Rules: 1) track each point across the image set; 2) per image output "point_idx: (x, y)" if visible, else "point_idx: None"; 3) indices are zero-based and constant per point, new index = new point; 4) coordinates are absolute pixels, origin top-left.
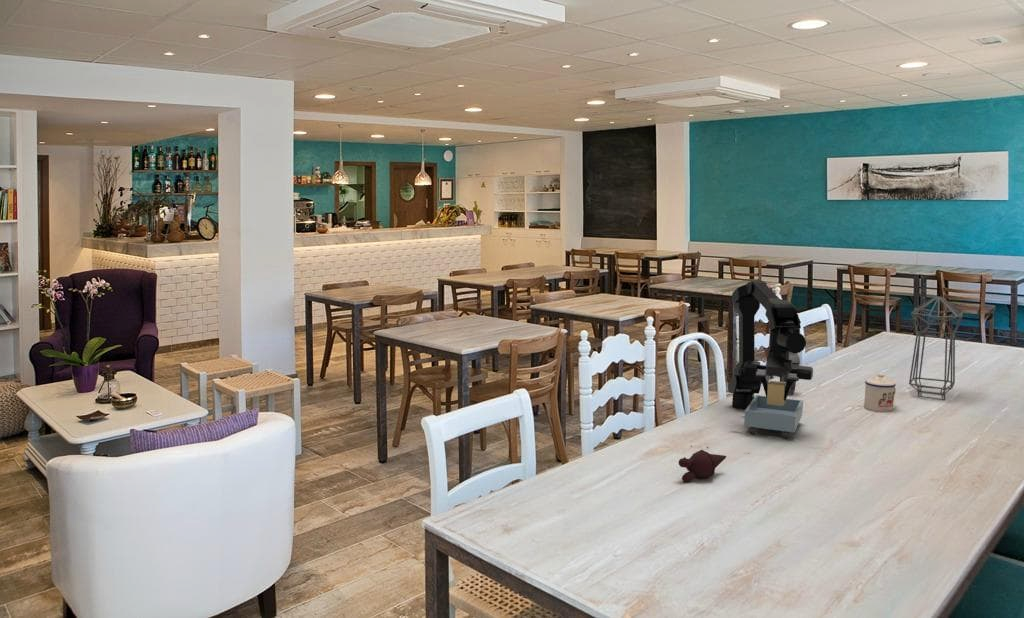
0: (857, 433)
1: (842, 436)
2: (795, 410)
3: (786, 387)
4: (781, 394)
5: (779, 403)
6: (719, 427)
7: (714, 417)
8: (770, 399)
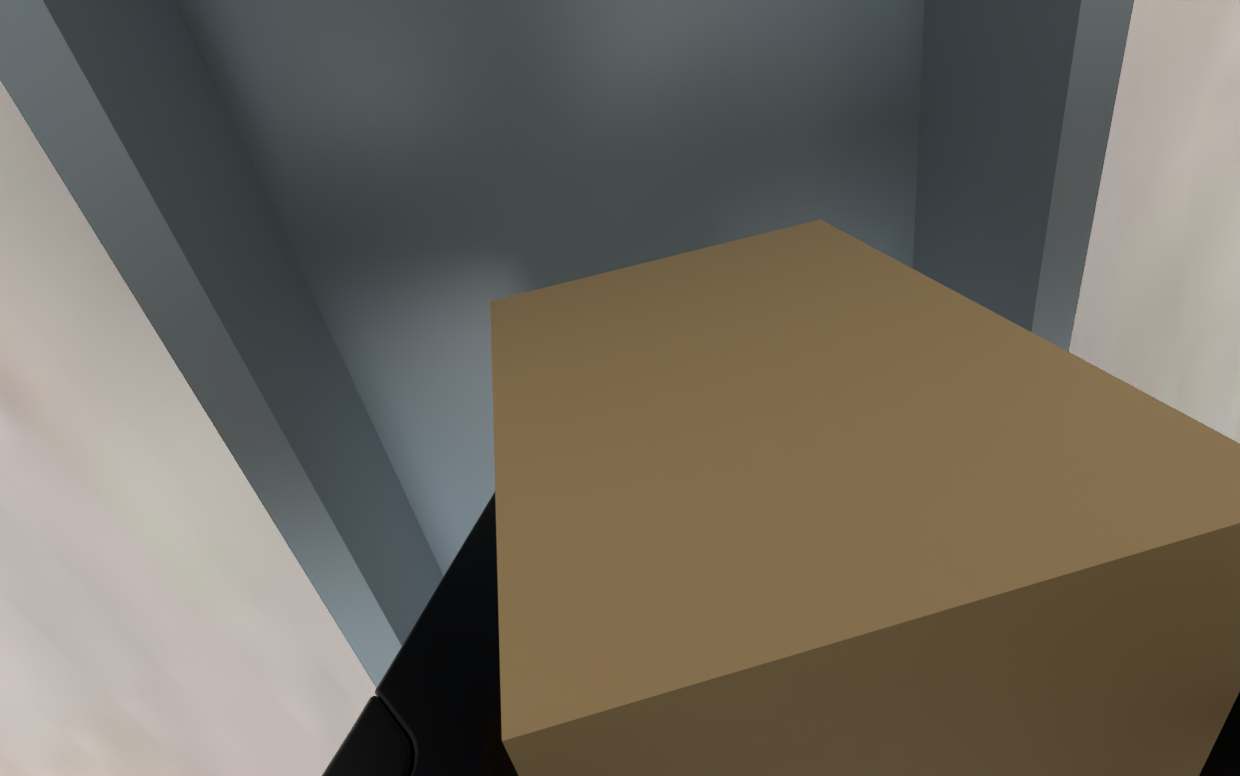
0: (23, 715)
1: (39, 575)
2: (198, 292)
3: (459, 751)
4: (562, 421)
5: (571, 299)
6: (1127, 45)
7: (1159, 340)
8: (799, 274)
